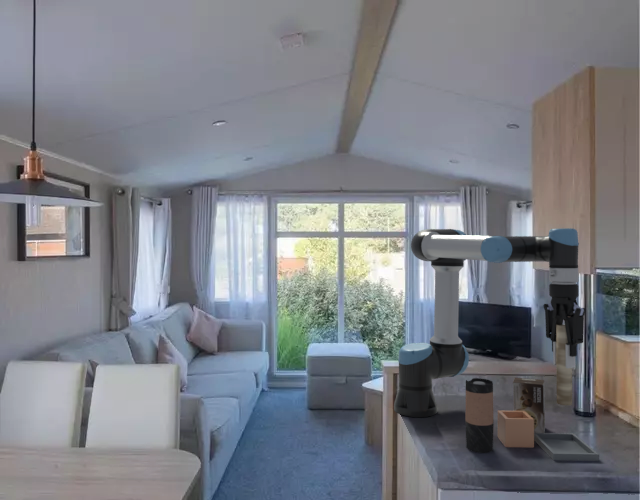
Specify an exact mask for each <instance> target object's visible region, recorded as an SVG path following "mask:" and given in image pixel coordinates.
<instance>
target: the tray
mask: <svg viewBox="0 0 640 500" xmlns="http://www.w3.org/2000/svg"><path fill="white" fill-rule="evenodd" d="M534 443H536V444H537V445H538V446H539V447H540V448H541V449H542V450H543V451H544V452H545V453H546V454H547V455H548V456H549V457H550V459H552V460H553V461H574V462H575V461H578V462H579V461H583V462H599V461H600V453H598V452H597V451H596V450H595V449H593V448H592V447H591V446H590V445H588V443H586V442H585V441H584V440H582V439H581V438H580V437H579V436H578V435H576V434H575V433H573V432H568V433H567V432H565V433H564V432H562V433H561V432H545V433H535V432H534Z"/></svg>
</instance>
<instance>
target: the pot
mask: <svg viewBox="0 0 640 500" xmlns="http://www.w3.org/2000/svg"><path fill="white" fill-rule="evenodd" d="M534 433H535V432H534V419H533V418H532V417H531V416H530V415H529V414H528V413H527V412H525V411H514V410H501V409H500V410H499V409H498V410H497V438H498V440H499V441H500V442H501V443H502V445H503V446H504V447H505V448H535V441H534Z"/></svg>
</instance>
